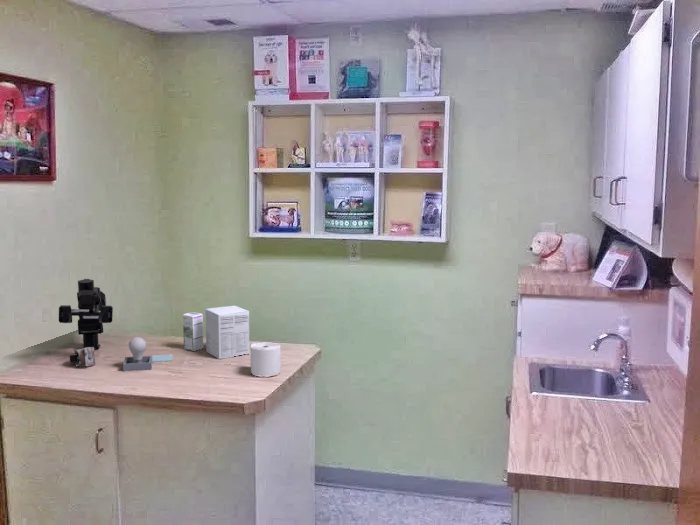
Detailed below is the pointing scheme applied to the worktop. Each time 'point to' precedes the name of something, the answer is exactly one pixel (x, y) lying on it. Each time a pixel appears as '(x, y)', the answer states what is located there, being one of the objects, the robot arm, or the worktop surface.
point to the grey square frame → (137, 364)
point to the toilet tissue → (265, 358)
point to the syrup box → (193, 331)
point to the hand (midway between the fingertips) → (85, 321)
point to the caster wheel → (83, 357)
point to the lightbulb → (137, 348)
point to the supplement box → (227, 331)
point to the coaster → (162, 358)
